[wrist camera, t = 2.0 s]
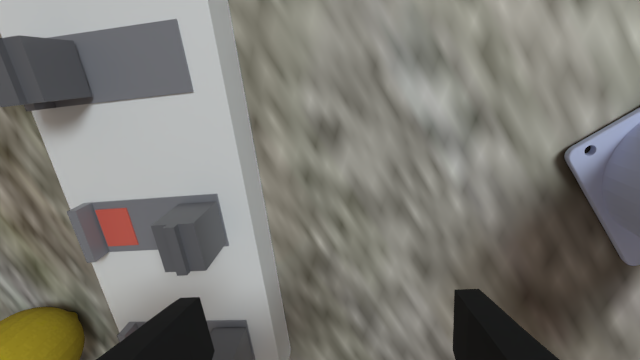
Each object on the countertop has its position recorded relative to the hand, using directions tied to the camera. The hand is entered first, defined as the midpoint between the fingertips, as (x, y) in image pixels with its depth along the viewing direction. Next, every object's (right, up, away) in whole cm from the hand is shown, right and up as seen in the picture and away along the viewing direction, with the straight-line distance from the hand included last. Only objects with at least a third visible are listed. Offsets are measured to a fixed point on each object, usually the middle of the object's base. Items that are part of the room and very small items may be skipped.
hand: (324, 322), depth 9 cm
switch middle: (-6, +2, +7) cm, 10 cm away
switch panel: (-8, +2, +10) cm, 14 cm away
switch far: (-5, -6, +10) cm, 13 cm away
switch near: (-12, +9, +5) cm, 16 cm away
